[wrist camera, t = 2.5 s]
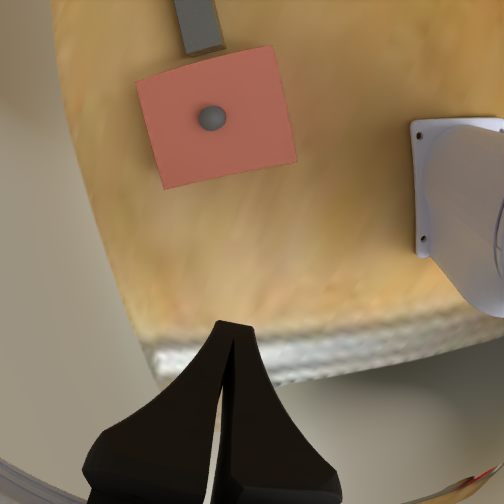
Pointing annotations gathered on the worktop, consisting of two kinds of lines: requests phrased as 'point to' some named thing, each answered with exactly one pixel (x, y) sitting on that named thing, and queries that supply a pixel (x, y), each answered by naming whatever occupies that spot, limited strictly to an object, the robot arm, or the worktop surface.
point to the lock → (217, 117)
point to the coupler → (199, 26)
